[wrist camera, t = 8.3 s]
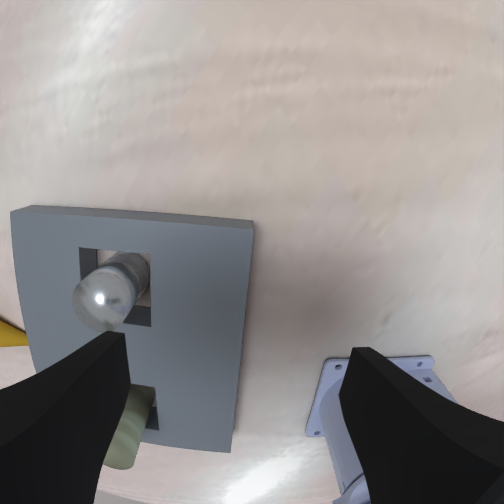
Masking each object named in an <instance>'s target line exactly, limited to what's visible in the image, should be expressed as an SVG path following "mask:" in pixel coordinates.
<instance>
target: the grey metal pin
mask: <svg viewBox="0 0 504 504" xmlns="http://www.w3.org/2000/svg"><path fill="white" fill-rule="evenodd" d="M149 280H150V271H149V268H148V265H147V263H146V262H145V260H144V259H143V258H142V257H141V256H140V255H138V254H137V253H131V252H121V251H119V252H117V253H115V254H114V255H112V256H111V257H110V258H109V259H107V260H106V261H105V262H104V263H103V264H101V265H100V266H99V267H98V268H96V269H95V270H94V271H93V272H92V273H90V274H89V275H88V276H87V277H86V278H84V279H83V280H82V281H81V282H80V283H79V284H78V285H77V286H76V287H75V289H74V291H73V295H72V304H73V308H74V311H75V313H76V315H77V317H78V318H79V320H80V321H81V322H82V323H83V324H84V325H85V326H87V327H88V328H90V329H91V330H93V331H96V332H100V333H104V332H106V331H115V330H116V329H118V328H119V327H120V325H121V324H122V322H123V321H124V320H125V318H126V317H127V315H128V314H129V312H130V311H131V309H132V308H133V306H134V305H135V303H136V302H137V300H138V299H139V297H140V296H141V295H142V293H143V292H144V290H145V289H146V287H147V286H148V284H149Z"/></svg>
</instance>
